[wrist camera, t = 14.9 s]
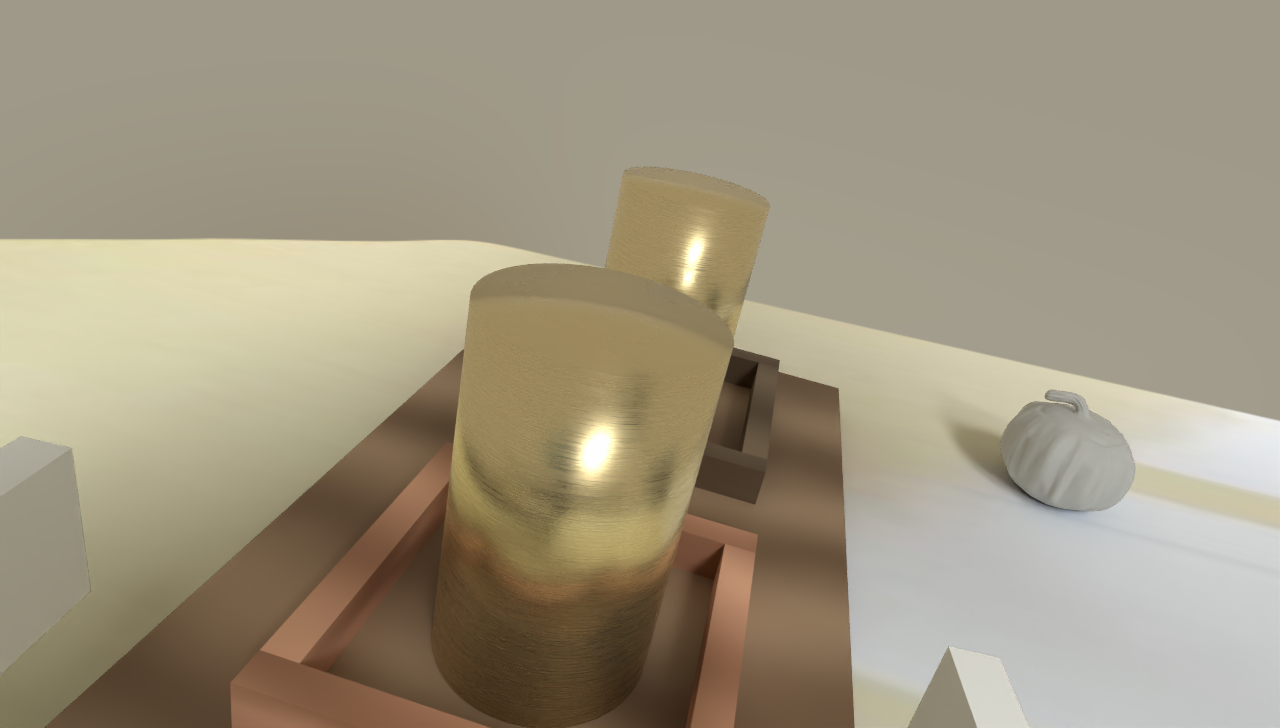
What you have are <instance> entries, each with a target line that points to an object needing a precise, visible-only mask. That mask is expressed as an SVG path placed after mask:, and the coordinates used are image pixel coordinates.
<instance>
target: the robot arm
mask: <svg viewBox="0 0 1280 728" xmlns="http://www.w3.org/2000/svg"><path fill="white" fill-rule="evenodd" d="M90 591H91V588H90V580H89V573H88V565H87V558H86V550H85V543H84V535H83V528H82V520H81V513H80V505H79V498H78V490H77V483H76V475H75V468H74V460H73V453H72V448H70V447H66V446H62V445H57V444H53V443H48V442H44V441H40V440H35V439H31V438H26V437H22V436H21V437H19V438H17V439H16V440H14V441H12V442H11V443H9V444H7V445H6V446H4V447H3V448H1V449H0V675H1V674H2V673H3V672H4V671H5V670H6V669H7V668H8V667H9V666H11V665H12V664H13V663H14V662H15V661H16V660H17V659H18V658H19V657H20V656H21V655H22V654H23V653H25V652H26V651H27V650H28V649H29V648H30V647H31V646H32V645H33V644H34V643H35V642H36V641H38V640H39V639H40V638H41V637H42V636H43V635H44V634H45V633H46V632H47V631H48V630H49V629H50V628H52V627H53V626H54V625H55V624H56V623H57V622H58V621H59V620H60V619H61V618H62V617H63V616H64V615H66V614H67V613H68V612H69V611H70V610H71V609H72V608H73V607H74V606H75V605H76V604H77V603H79V602H80V601H81V600H82V599H83V598H84V597H85V596H86V595H87V594H88V593H89V592H90ZM908 728H1029V725H1028V723H1027V721H1026V718H1025V716H1024V714H1023V711H1022V709H1021V706H1020V704H1019V702H1018V699H1017V697H1016V695H1015V692H1014V690H1013V688H1012V685H1011V683H1010V681H1009V678H1008V676H1007V673H1006V671H1005V669H1004V666H1003V664H1002V662H1001V659H1000V658H998V657H994V656H989V655H985V654H981V653H976V652H972V651H967V650H963V649H959V648H954V647H950V646H948V648H947V650H946V652H945V654H944V656H943V658H942V660H941V662H940V664H939V666H938V668H937V670H936V672H935V674H934V676H933V678H932V680H931V682H930V684H929V686H928V688H927V690H926V692H925V694H924V696H923V698H922V700H921V702H920V704H919V706H918V708H917V710H916V712H915V714H914V716H913V718H912V720H911V722H910V724H909V726H908Z"/></svg>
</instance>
